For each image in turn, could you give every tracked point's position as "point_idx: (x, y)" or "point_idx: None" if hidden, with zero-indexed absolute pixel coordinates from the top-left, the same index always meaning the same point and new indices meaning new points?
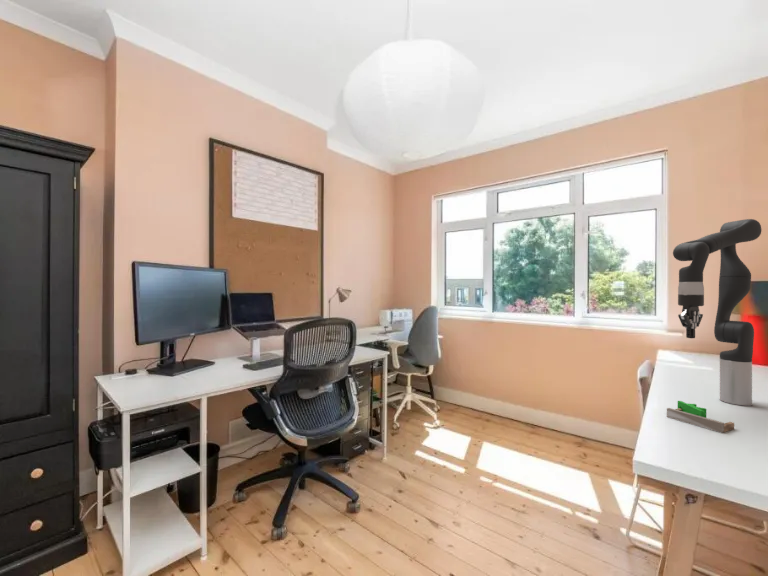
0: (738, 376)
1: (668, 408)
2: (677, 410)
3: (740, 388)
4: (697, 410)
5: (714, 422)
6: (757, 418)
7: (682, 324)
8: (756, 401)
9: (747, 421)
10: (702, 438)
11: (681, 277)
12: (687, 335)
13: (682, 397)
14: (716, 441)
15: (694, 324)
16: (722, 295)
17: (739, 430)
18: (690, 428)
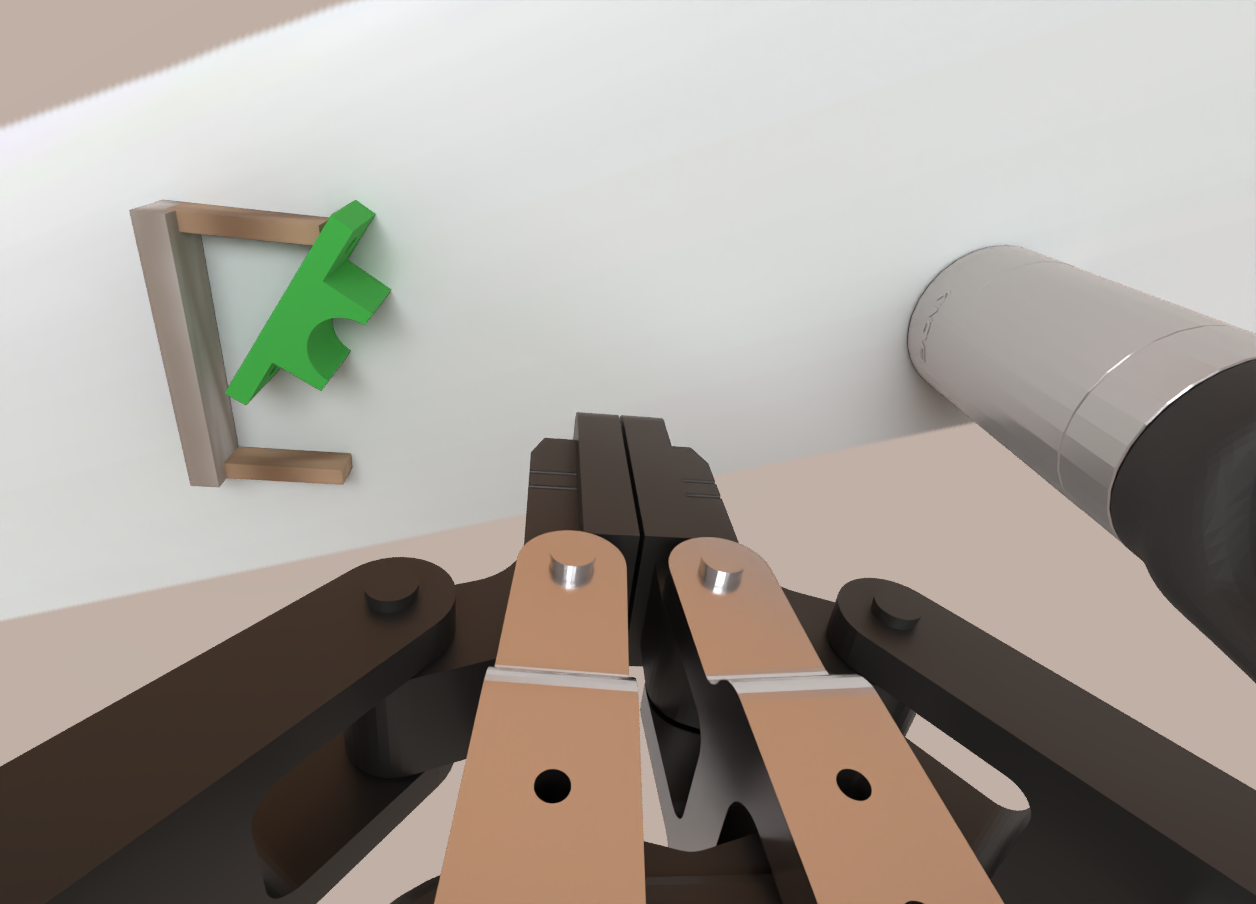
0: (1018, 439)
1: (140, 218)
2: (167, 271)
3: (968, 406)
4: (242, 366)
5: (187, 454)
6: None
7: (271, 632)
8: None
9: None
10: (12, 441)
11: None
12: (534, 465)
13: (840, 62)
14: (50, 482)
15: (662, 776)
16: None
17: (355, 484)
18: (102, 359)
